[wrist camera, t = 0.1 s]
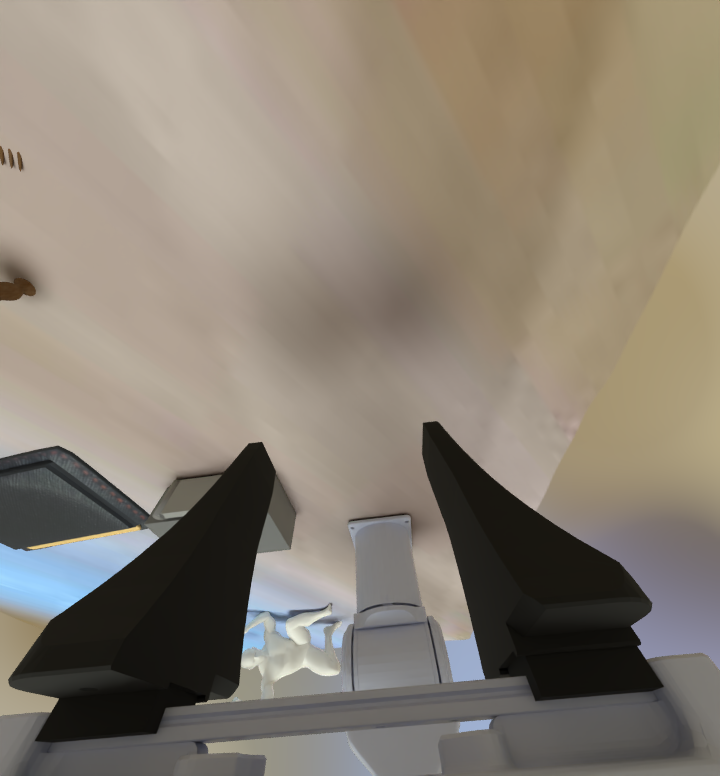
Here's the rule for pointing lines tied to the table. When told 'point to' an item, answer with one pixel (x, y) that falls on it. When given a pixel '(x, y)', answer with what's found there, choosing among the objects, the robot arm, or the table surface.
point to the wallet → (60, 501)
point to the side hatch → (183, 496)
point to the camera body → (275, 527)
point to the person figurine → (290, 650)
